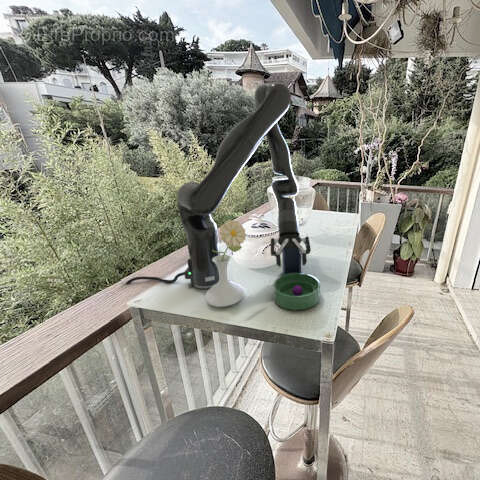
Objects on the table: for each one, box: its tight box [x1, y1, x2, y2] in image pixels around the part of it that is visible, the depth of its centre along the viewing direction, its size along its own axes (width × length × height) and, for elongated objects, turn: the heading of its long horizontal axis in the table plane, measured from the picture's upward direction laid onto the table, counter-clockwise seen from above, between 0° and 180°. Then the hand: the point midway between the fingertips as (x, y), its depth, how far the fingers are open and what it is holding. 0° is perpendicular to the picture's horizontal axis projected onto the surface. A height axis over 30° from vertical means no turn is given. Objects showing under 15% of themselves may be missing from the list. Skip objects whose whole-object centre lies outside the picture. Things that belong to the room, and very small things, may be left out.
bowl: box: [273, 272, 321, 311], centre depth 82 cm, size 14×14×5 cm
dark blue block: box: [281, 247, 302, 276], centre depth 94 cm, size 6×6×10 cm
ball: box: [292, 286, 303, 296], centre depth 83 cm, size 3×3×3 cm
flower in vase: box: [204, 219, 247, 308], centre depth 77 cm, size 13×11×25 cm
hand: (292, 265), depth 93 cm, fingers open, 8 cm apart
